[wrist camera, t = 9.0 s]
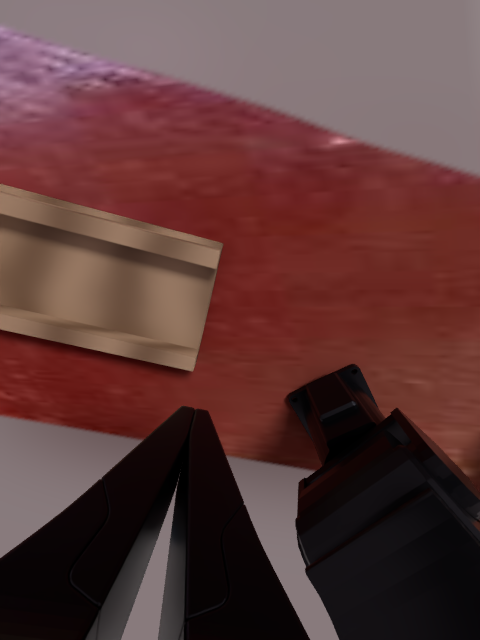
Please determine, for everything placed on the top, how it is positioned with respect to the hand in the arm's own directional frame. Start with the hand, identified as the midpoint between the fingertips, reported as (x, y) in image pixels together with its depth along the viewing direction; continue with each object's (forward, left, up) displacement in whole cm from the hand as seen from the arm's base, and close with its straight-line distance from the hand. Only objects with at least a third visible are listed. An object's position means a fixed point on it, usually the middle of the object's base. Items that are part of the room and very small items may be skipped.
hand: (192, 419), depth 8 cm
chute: (+9, +10, -13) cm, 19 cm away
